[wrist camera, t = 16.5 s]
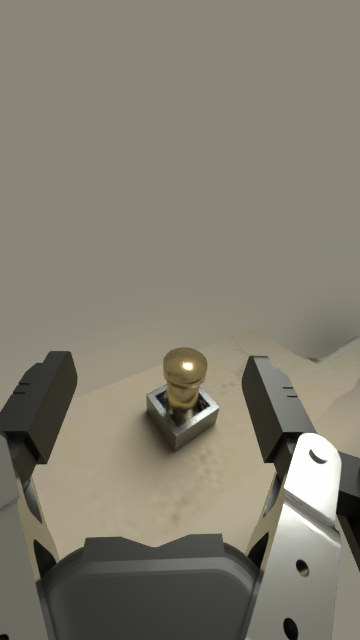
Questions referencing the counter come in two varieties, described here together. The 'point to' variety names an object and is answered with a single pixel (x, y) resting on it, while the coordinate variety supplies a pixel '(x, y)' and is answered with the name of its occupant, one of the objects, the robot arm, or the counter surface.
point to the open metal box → (189, 429)
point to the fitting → (183, 382)
